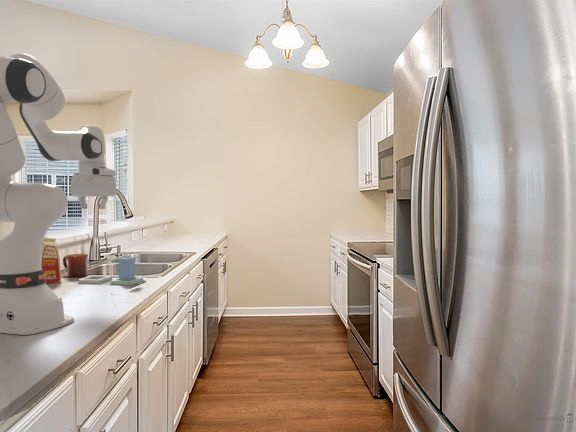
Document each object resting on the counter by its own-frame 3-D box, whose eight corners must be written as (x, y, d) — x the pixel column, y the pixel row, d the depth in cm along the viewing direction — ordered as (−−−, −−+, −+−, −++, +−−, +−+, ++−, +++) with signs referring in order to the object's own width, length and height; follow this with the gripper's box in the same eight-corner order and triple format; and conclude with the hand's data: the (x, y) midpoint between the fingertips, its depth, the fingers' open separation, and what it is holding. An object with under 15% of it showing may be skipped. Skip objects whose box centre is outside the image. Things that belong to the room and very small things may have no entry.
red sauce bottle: (41, 287, 154) (40, 236, 153) (28, 285, 159) (27, 235, 158) (64, 283, 162) (63, 235, 161) (51, 281, 167) (50, 234, 166)
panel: (146, 282, 165) (146, 276, 164) (130, 288, 153) (130, 282, 153) (93, 280, 168) (93, 274, 168) (74, 286, 156) (74, 280, 156)
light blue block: (129, 283, 157) (129, 255, 157) (118, 283, 157) (118, 255, 157) (134, 281, 161) (134, 254, 161) (124, 281, 162) (124, 254, 161)
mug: (93, 277, 176) (92, 254, 176) (77, 280, 168) (76, 256, 168) (72, 275, 180) (72, 253, 180) (55, 278, 172) (55, 255, 171)
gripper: (65, 171, 146) (66, 208, 147) (104, 169, 138) (105, 209, 138) (80, 172, 152) (81, 208, 152) (119, 171, 143) (119, 208, 144)
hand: (92, 208), depth 145 cm, fingers open, 8 cm apart
